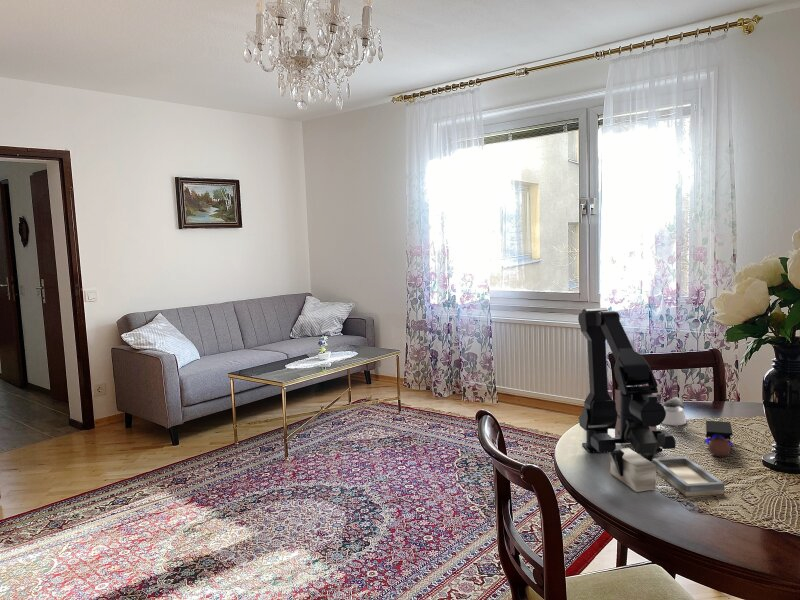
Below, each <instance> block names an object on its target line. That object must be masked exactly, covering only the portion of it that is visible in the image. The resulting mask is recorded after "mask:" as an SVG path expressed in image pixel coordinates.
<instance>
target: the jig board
mask: <svg viewBox="0 0 800 600" xmlns="http://www.w3.org/2000/svg"><path fill="white" fill-rule="evenodd" d="M651 462H652V463H654V464H655V465H656V474H657V473H658V474H659V475H660V477H662V478H663V479H664V480H666V481H667V482H668V483H669V484H670V485H671V486H673V487H674V488H675V489H677V490H678V491H679V492H680V493H681V494H682V495H684V496H685V497H697V496H711V495H724V494H725V482H723V481H722V480H721V479H719V478H717V477H716V476H715V475H713V474H712V473H711V472H709V471H707V470H706V469H704V468H703V467H702V466H700V465H699V464H698V463H696V462H695V461H693V460H692V459H691V458H689V457H687V456H680V457H677V456H676V457H662V458H661V457H660V458H653V459H652V460H651Z"/></svg>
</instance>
